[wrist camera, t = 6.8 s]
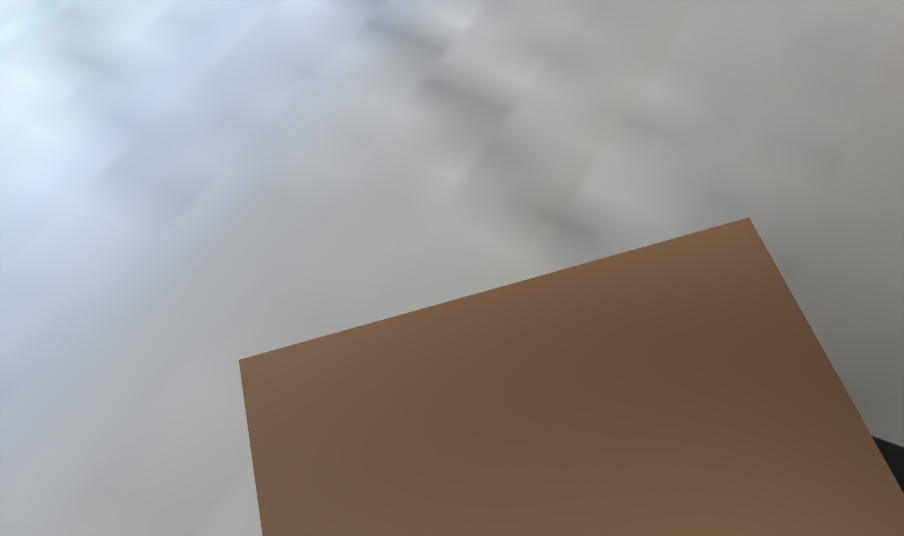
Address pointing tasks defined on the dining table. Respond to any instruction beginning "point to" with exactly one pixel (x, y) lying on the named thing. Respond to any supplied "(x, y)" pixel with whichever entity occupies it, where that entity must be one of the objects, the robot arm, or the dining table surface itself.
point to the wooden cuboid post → (575, 411)
